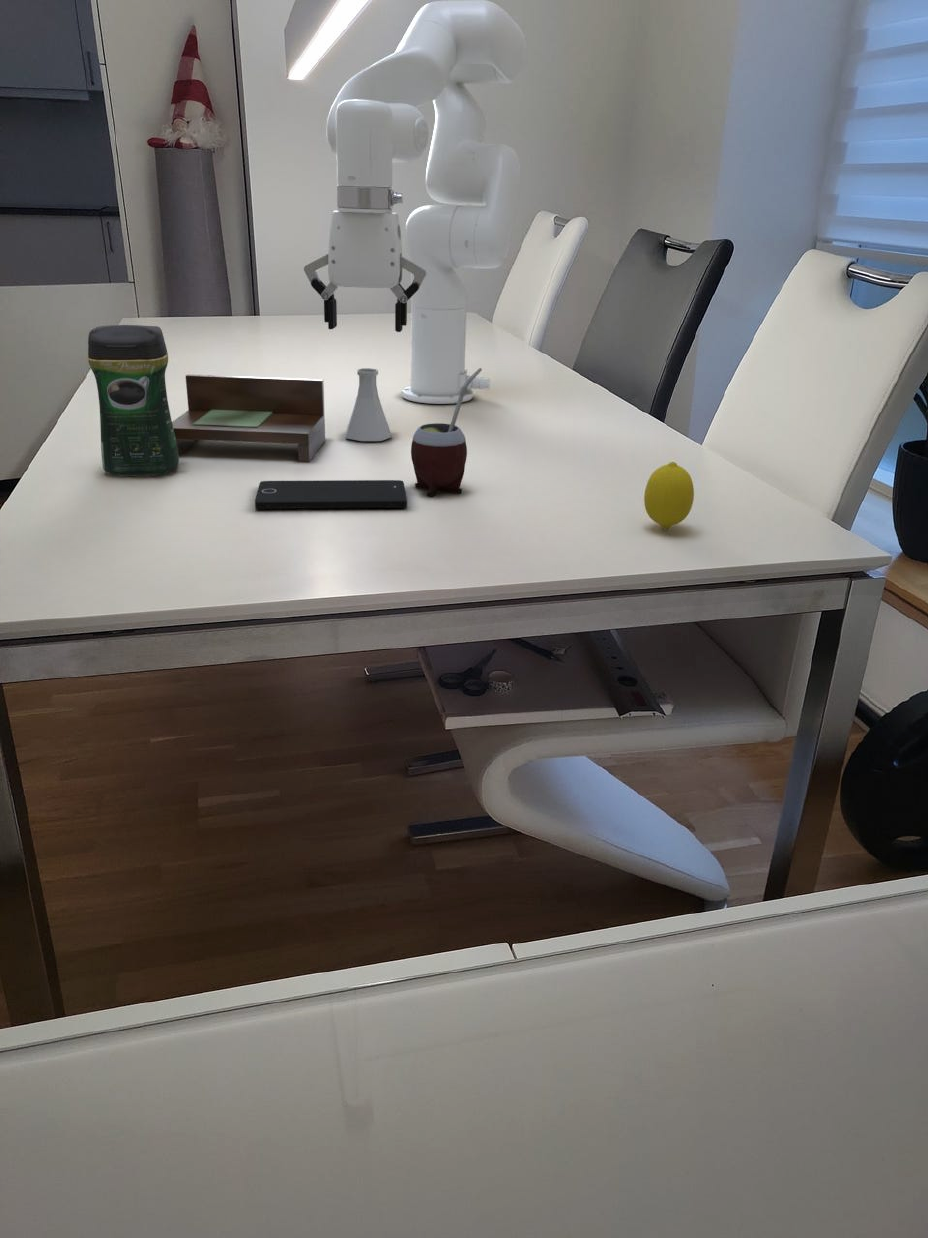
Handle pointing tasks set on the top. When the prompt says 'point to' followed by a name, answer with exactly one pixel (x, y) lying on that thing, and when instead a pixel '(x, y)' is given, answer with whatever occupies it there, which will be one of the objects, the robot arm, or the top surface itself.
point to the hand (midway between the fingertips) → (365, 329)
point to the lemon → (669, 495)
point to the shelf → (253, 412)
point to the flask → (368, 411)
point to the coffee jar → (133, 399)
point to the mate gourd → (441, 453)
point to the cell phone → (331, 494)
